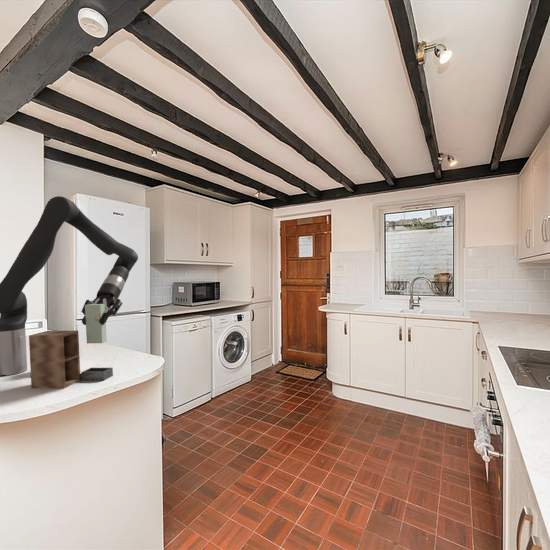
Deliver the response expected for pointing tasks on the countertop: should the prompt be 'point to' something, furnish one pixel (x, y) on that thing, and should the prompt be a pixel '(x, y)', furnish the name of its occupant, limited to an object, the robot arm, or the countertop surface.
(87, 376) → the dark grey rectangular frame
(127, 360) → the countertop surface
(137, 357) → the countertop surface
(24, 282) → the robot arm
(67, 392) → the countertop surface
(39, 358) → the cabinet
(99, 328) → the sage green block
